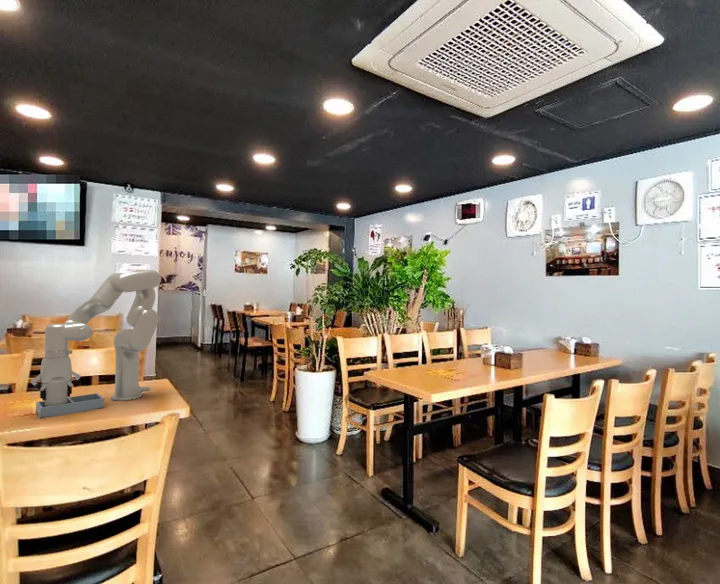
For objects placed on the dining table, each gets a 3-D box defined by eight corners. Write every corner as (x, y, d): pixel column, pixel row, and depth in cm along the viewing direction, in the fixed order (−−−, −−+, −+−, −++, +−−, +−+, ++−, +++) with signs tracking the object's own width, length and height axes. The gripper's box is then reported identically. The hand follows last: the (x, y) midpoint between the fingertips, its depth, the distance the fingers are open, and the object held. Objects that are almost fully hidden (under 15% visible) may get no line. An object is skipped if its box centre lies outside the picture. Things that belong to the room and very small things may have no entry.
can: (61, 408, 162) (61, 378, 162) (40, 409, 161) (40, 378, 161) (71, 403, 170) (71, 374, 170) (51, 403, 169) (51, 374, 168)
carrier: (97, 402, 181) (97, 393, 180) (104, 407, 173) (104, 398, 173) (36, 411, 165) (36, 401, 165) (40, 418, 158) (40, 408, 157)
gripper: (80, 351, 174) (79, 392, 174) (27, 355, 162) (27, 399, 162) (84, 353, 169) (83, 396, 169) (30, 358, 156) (30, 404, 157)
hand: (56, 397), depth 165 cm, fingers closed on can, 7 cm apart
